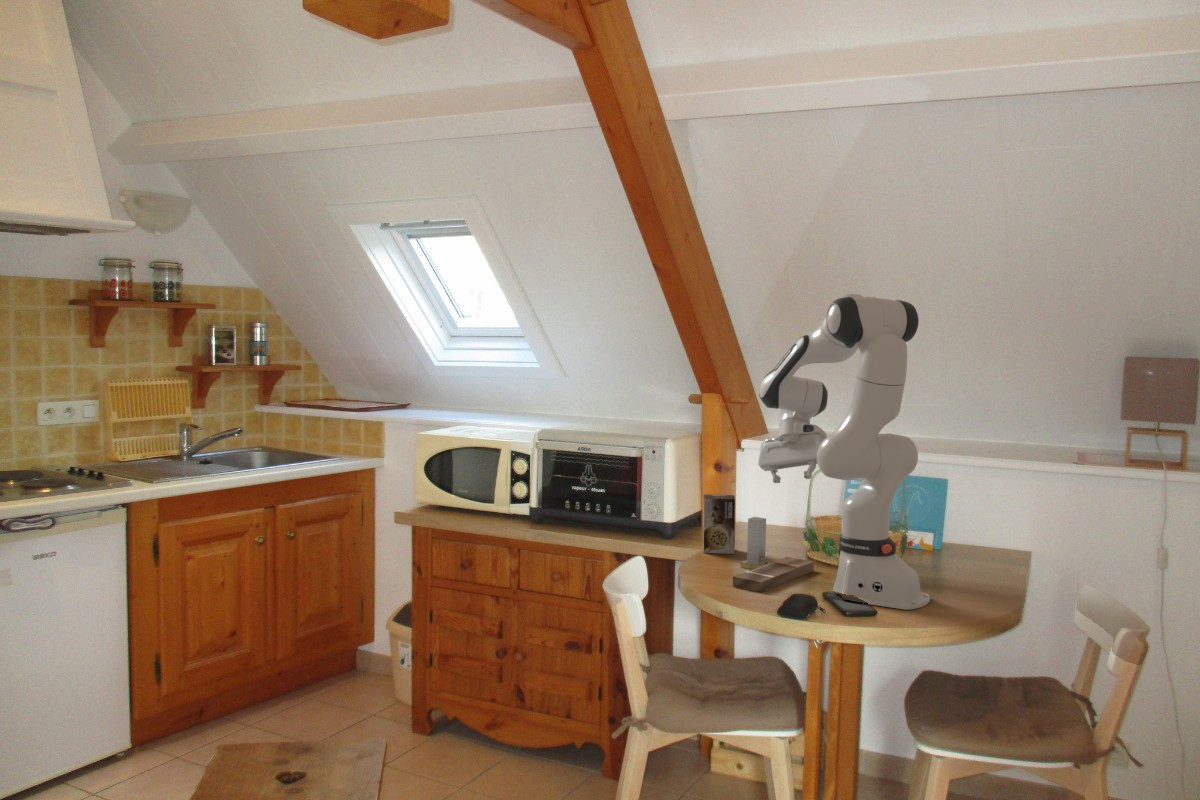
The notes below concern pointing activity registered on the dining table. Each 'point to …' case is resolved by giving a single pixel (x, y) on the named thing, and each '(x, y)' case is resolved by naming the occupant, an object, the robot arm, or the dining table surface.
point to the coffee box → (719, 524)
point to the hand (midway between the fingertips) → (791, 480)
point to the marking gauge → (755, 543)
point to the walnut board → (773, 574)
